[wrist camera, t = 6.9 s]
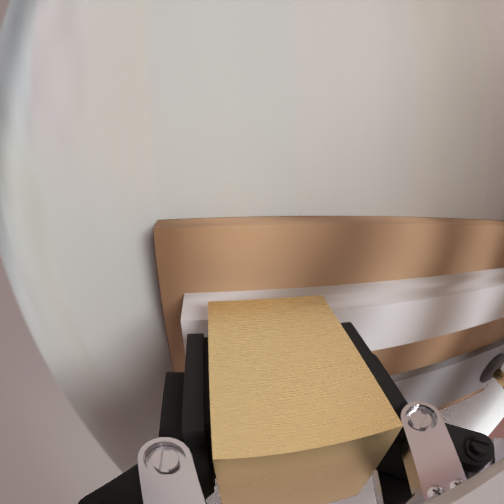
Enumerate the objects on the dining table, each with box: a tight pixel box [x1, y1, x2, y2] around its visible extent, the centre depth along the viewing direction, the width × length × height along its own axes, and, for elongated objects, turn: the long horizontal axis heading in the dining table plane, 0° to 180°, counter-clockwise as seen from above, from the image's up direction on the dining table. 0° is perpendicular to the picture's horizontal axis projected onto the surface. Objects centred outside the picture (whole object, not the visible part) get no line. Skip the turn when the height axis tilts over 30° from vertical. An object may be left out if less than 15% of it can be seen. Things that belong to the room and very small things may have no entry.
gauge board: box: [153, 216, 504, 410], centre depth 15 cm, size 26×16×3 cm, turn 89°
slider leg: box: [208, 295, 403, 504], centre depth 10 cm, size 4×10×7 cm, turn 179°
